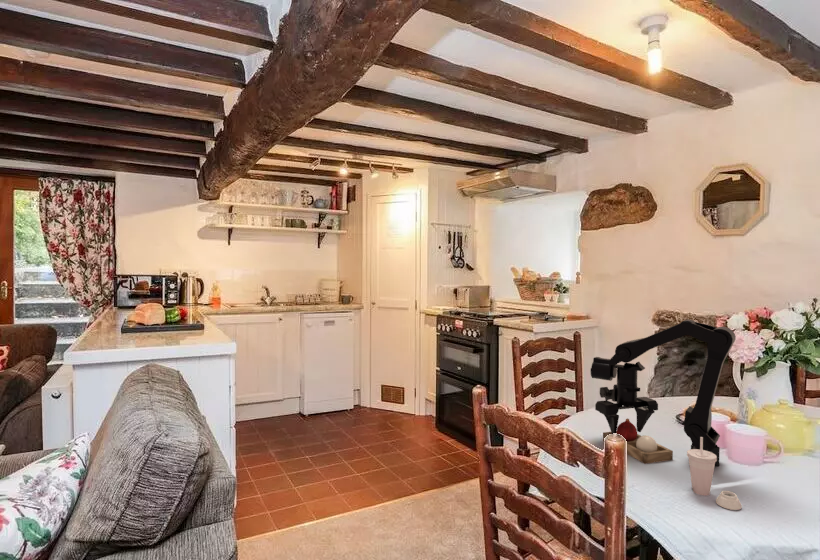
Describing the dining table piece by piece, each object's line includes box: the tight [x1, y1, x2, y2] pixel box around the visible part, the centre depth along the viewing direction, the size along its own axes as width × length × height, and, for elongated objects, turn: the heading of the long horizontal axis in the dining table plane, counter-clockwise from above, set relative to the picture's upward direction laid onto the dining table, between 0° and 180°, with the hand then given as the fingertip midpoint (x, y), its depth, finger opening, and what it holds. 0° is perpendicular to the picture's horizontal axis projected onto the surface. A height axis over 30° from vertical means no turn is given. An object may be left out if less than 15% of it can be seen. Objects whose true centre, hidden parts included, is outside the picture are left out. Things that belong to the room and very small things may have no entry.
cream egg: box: [636, 435, 658, 453], centre depth 140 cm, size 6×6×6 cm
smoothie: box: [686, 437, 717, 497], centre depth 120 cm, size 6×6×14 cm
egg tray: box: [602, 431, 674, 464], centre depth 145 cm, size 18×10×4 cm, turn 15°
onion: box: [617, 417, 638, 442], centre depth 148 cm, size 6×6×8 cm
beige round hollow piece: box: [715, 490, 743, 511], centre depth 113 cm, size 5×3×5 cm
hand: (626, 433), depth 149 cm, fingers open, 9 cm apart
